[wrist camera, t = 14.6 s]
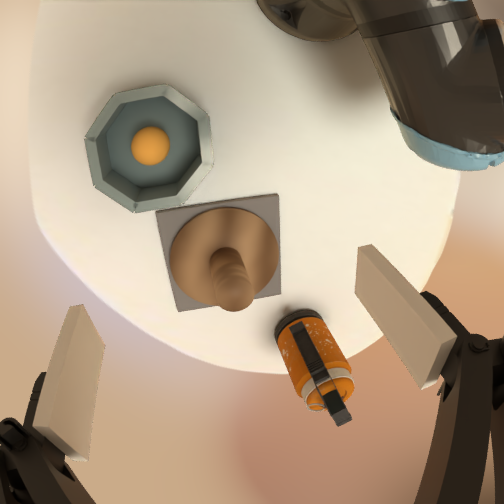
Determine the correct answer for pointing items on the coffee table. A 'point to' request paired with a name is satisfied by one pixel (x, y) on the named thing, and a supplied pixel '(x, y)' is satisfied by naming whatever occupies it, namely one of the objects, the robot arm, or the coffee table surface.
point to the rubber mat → (177, 217)
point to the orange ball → (150, 145)
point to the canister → (316, 364)
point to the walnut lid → (224, 257)
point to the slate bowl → (149, 176)
